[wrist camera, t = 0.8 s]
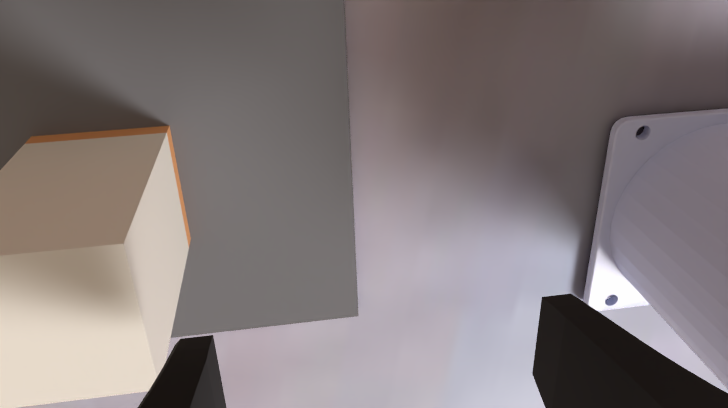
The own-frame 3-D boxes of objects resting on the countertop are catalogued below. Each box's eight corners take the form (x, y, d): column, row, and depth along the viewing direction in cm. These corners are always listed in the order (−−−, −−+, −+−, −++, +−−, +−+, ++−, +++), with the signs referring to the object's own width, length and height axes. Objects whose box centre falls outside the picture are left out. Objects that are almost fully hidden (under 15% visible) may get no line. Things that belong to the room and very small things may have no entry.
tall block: (169, 125, 19) (123, 243, 13) (190, 238, 21) (159, 390, 14) (31, 136, 18) (-87, 264, 12) (65, 251, 20) (-22, 411, 14)
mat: (341, -25, 18) (343, -24, 18) (356, 309, 23) (358, 315, 23) (-355, 11, 16) (-369, 14, 16) (-158, 368, 21) (-165, 376, 21)
